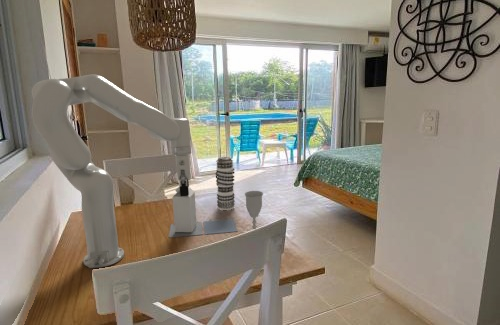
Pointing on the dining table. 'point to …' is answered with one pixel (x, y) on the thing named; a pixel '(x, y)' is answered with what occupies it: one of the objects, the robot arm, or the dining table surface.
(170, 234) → the tile
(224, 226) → the mat
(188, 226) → the milk carton
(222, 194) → the decorative candle
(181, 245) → the dining table surface
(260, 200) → the chalice
